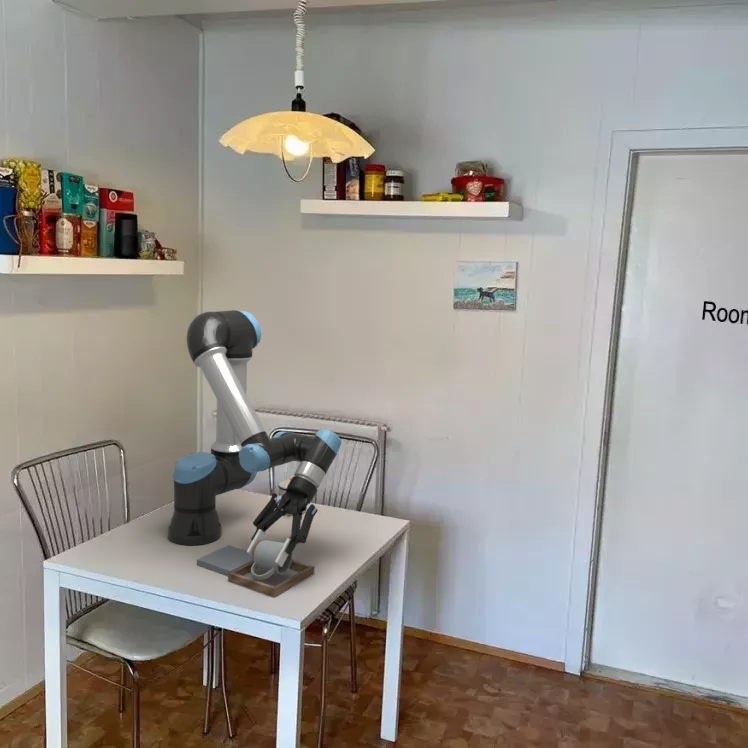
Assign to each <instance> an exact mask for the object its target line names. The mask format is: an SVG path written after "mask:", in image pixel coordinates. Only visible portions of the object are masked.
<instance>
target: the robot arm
mask: <svg viewBox="0 0 748 748" xmlns="http://www.w3.org/2000/svg"><path fill="white" fill-rule="evenodd" d="M261 337H262V330H261V326H260V323H259V321H258V320H257V319H256V317H255V316H254V315H253V314H252V313H250V312H249V311H245V310H237V309H236V310H235V309H231V310H220V311H205V312H202V313H200V314H198V315H196V317H194V318H193V320H192V321H191V322H190V324H189V326H188V328H187V332H186V346H187V350H188V354H189V357H190V358H191V360H192V362H193V364H194V366H195V367H197V368H200V369H201V371H202V374H203V376H204V377H205V380H206V381H207V382H208V383H207V384H208V385H209V387H210V388H211V391H212V393H213V395H214V397H215V398H216V423H215V424H216V432H215V433H216V436H215V441H214V442H213V443H212V444H211V446H210V452H203V451H202V452H201V451H200V452H195V453H194V452H193V453H192V452H191V453H188V454H185V455H183V456H181V457H179V458H178V459H177V460H176V461H175V463H174V466H173V467H174V468H173V514H172V517H171V519H170V520H171V521H170V525H169V526H168V528H167V538H168V540H169V541H170V542H172V543H174V544H177V545H182V546H183V545H184V546H199V545H200V546H201V545H207V544H209V543H213V542H215V541H217V540H218V539H220V538H221V536H222V533H223V532H222V531H223V529H222V528H223V527H222V524H221V522H220V519H219V515H218V512H217V507H216V502H217V500H216V498H217V496H218V495H221V494H225V493H229V492H231V491H234V490H239V489H242V488H243V487H246V486H247V485H249V484H251V483H252V482H253V481H254V479H255V478H256V476H257V473H258V472H259V473H260V472H264V471H266V470H269V469H272V468H275V467H279V466H281V465H285V464H289V463H291V462H299V465H298V466H297V468H296V470H294V471H295V472H294V474H293V476H294V477H292V479H291V481H290V482H289V484H288V486H287V490H286V492H285V494H283V495H282V496H279V494H277V493H272V495H271V498H270V499H269V501H268V502H267V504H265V506H264V508H263V509H262V510H261V511H260V512H259V514H258V515H257V517H255V519H254V520H253V522H252V525H253V526H254V527H255V528H256V529H255V532H254V533H253V535H252V537H251V539H250V540H251V542H250V545H249V547H248V548H247V550H246V551H247V553H248V554H249V555H251V556H253V551H254V548H255V546H256V545H257V544H258V543H259V542H260V541H263V540H264V539H265V537H266V531H268V530H269V528H271V527H272V526H273V525H275V523H276V522H277V521H279V520H280V518H282V517H285V516H287V515H286V514H292V515H291V516H292V522H291V530H290V531H291V533H290V535H289V537H288V538H286V540H285V542H284V543H285V544H284V545H283V547H282V549H281V551H280V553H279V555H278V557H277V559H276V560H275V562H276V563H277V564H278V565H279V566H280V567H282V566H283V564H284V562H285V560H286V558H287V557H288V555H291V554H292V555H293V552H294V551H295V548H296V546H297V545H298V544H306V542H307V538H308V536H309V533H310V530H311V528H312V527H311V526H312V524H313V523H312V522H313V520H314V517H315V515H316V514H317V513H318V508H317V507H316V505H315V504H314V503H313V504H311V503H312V501H313V499H314V498H315V496H316V494H317V492H318V489H319V487H321V484H322V482H323V480H324V479H325V476H326V474H327V473H328V470H329V469H330V467H331V466H332V463H333V462H334V460H335V458H336V457H337V455H338V452H339V450H340V447H341V445H342V440H341V438H340V437H339V435H337V434H336V433H335V432H333V431H332V430H330V429H327V428H322V429H321V428H320V429H319V430H318V431H316V433H315V434H314V436H313V435H306V434H303V433H302V434H301V433H297V432H293V431H279V432H277V433H276V435H274V436H273V437H271V438H270V437H269V435H268V433H267V431H266V429H265V427H264V426H263V423H262V422H261V420H260V417H259V416H258V414H257V413H256V411H255V409H254V407H253V405H252V403H251V401H250V400H249V397H248V395H247V380H248V379H247V374H248V362H249V361H250V360H251V359H252V358H253V349H255V348H257V346H258V345H259V344H260V342H261V340H262V339H261ZM280 502H281V503H280ZM281 509H283V511H282V510H281ZM303 511H305V512H304V516H303V513H302V512H303ZM302 519H303V520H302Z"/></svg>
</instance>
